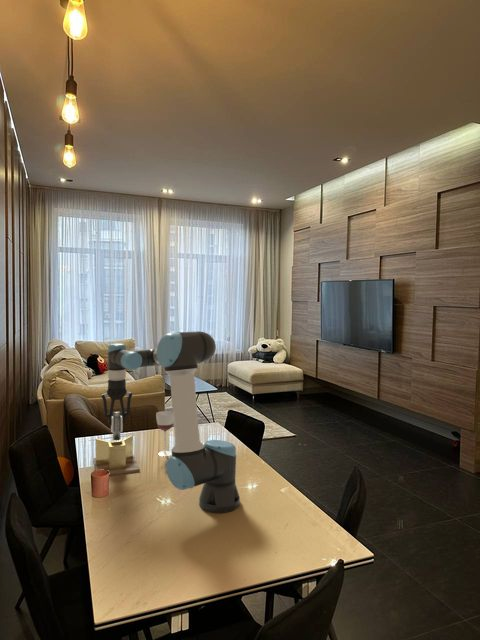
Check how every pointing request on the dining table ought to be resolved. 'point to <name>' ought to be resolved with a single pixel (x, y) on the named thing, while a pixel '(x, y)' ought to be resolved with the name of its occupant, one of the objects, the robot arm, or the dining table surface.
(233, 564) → the dining table surface
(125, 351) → the robot arm
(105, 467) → the board
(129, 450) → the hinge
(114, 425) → the pin
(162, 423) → the wineglass
